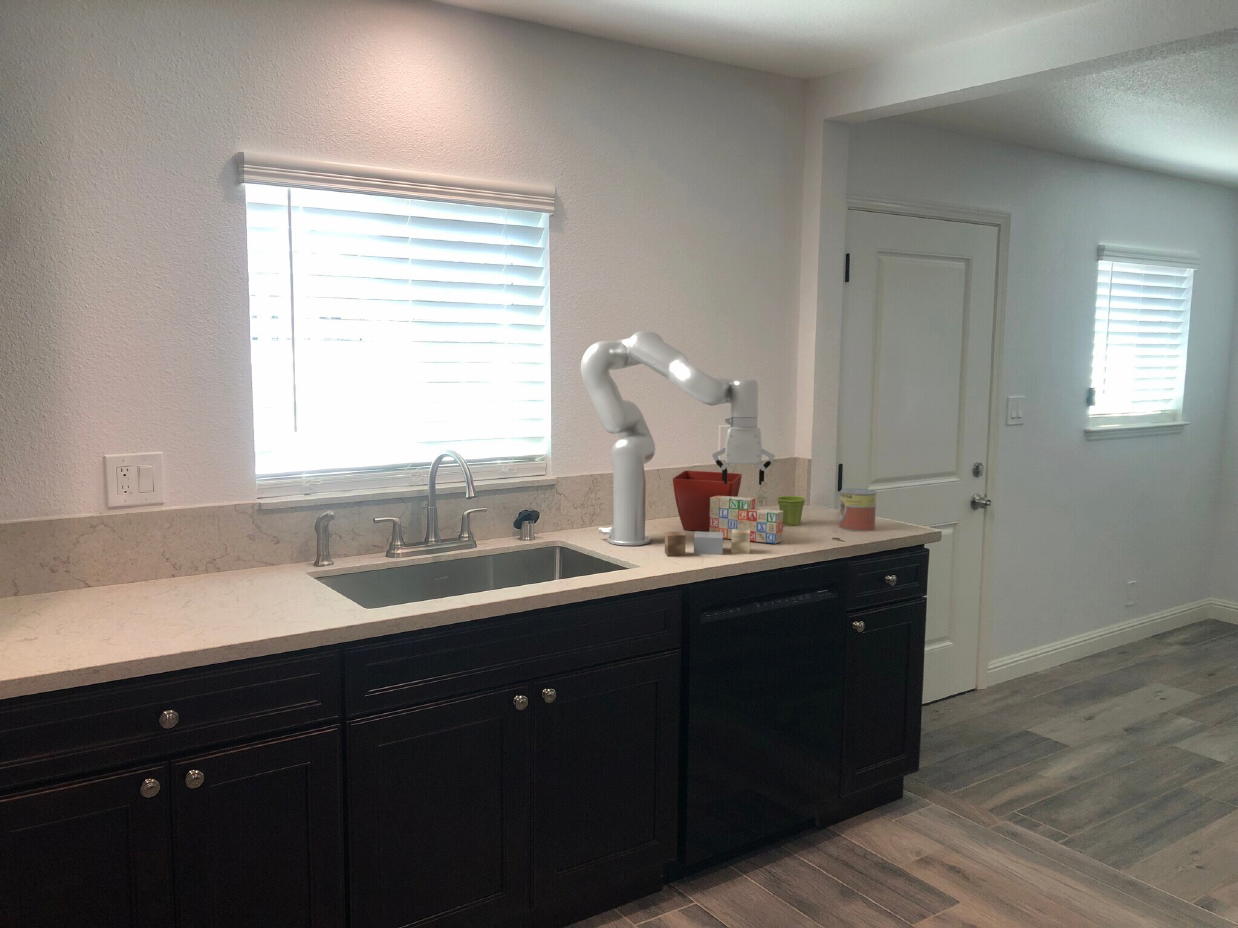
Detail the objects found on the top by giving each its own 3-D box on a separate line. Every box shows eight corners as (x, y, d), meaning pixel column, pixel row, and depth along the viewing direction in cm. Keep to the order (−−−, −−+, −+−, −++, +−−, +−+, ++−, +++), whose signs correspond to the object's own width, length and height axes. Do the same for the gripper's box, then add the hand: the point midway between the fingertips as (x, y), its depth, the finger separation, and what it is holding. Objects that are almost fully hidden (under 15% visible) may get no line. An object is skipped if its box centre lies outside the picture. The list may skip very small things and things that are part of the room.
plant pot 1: (731, 535, 289) (732, 481, 286) (670, 531, 294) (671, 478, 292) (740, 524, 307) (742, 473, 305) (683, 520, 312) (684, 470, 310)
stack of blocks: (782, 541, 281) (784, 500, 279) (775, 544, 275) (777, 502, 274) (716, 533, 291) (717, 494, 290) (708, 536, 285) (709, 496, 284)
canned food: (834, 524, 307) (836, 488, 306) (868, 524, 308) (870, 488, 306) (844, 531, 296) (845, 494, 295) (879, 531, 297) (881, 494, 295)
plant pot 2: (792, 528, 301) (793, 501, 300) (770, 523, 308) (770, 497, 307) (811, 524, 306) (811, 498, 305) (788, 520, 314) (789, 495, 313)
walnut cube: (667, 556, 260) (667, 535, 259) (664, 552, 264) (665, 531, 264) (685, 556, 260) (685, 535, 259) (682, 552, 265) (682, 531, 264)
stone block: (693, 554, 263) (694, 537, 263) (695, 548, 271) (695, 531, 271) (722, 555, 262) (722, 537, 262) (722, 549, 270) (723, 532, 270)
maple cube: (731, 553, 264) (731, 532, 264) (731, 549, 269) (732, 529, 268) (749, 554, 264) (749, 533, 263) (749, 550, 268) (750, 529, 268)
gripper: (712, 423, 259) (711, 485, 261) (775, 424, 257) (774, 486, 259) (713, 421, 267) (712, 481, 269) (775, 422, 264) (774, 482, 266)
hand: (742, 483), depth 264 cm, fingers open, 9 cm apart
